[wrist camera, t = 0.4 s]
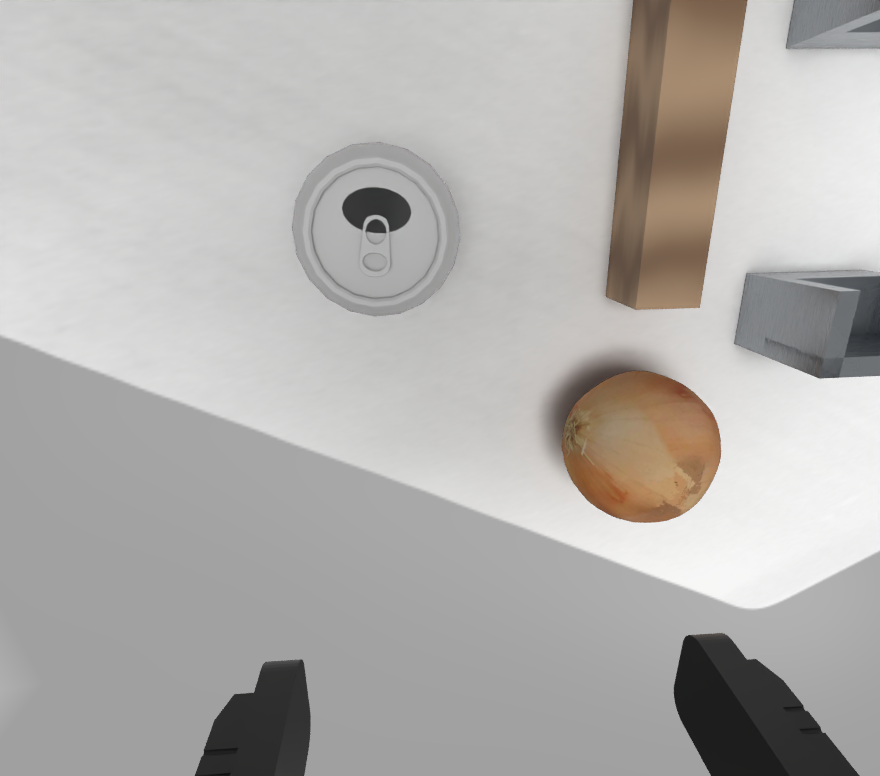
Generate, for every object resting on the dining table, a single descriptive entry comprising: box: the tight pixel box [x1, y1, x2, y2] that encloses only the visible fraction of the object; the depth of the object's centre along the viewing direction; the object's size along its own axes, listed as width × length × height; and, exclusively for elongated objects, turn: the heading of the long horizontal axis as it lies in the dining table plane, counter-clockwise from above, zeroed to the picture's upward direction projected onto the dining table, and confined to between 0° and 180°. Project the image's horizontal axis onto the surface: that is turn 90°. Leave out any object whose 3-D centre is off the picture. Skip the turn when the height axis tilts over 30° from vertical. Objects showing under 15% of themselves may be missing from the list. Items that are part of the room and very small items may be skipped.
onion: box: [562, 371, 721, 523], centre depth 34 cm, size 10×10×10 cm
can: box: [292, 142, 460, 316], centre depth 27 cm, size 8×8×12 cm
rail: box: [606, 0, 747, 310], centre depth 30 cm, size 18×4×5 cm, turn 1°
